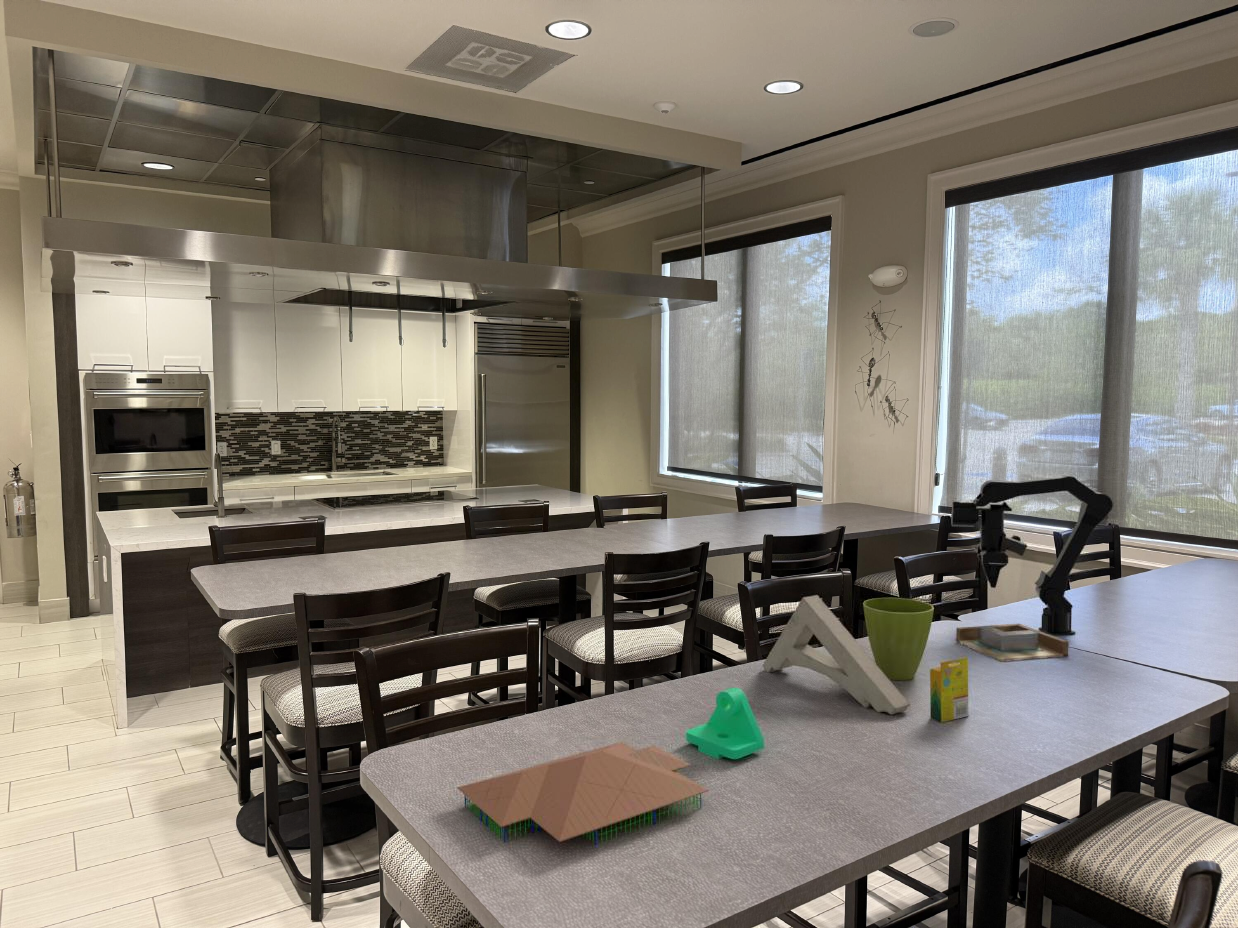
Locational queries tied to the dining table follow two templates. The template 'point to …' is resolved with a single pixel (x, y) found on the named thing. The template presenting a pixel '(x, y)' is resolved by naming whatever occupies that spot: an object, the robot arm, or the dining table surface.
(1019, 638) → the angle bracket
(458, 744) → the dining table surface
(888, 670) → the flower pot
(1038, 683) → the dining table surface
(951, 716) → the crayon box
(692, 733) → the camera mount
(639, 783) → the house
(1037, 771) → the dining table surface
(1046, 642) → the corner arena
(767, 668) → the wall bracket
